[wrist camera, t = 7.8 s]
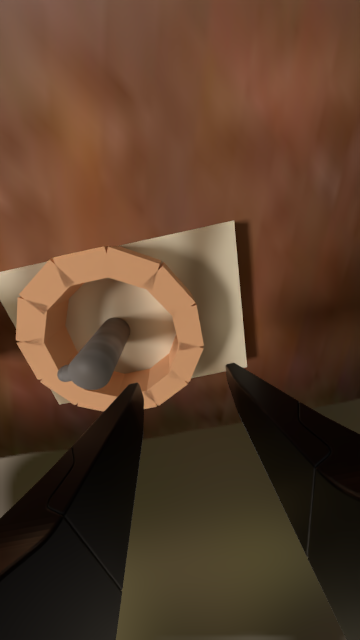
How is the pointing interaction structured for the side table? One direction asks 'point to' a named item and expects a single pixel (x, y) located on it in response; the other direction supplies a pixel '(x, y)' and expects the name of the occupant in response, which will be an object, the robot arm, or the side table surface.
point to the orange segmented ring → (57, 346)
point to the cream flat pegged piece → (149, 310)
